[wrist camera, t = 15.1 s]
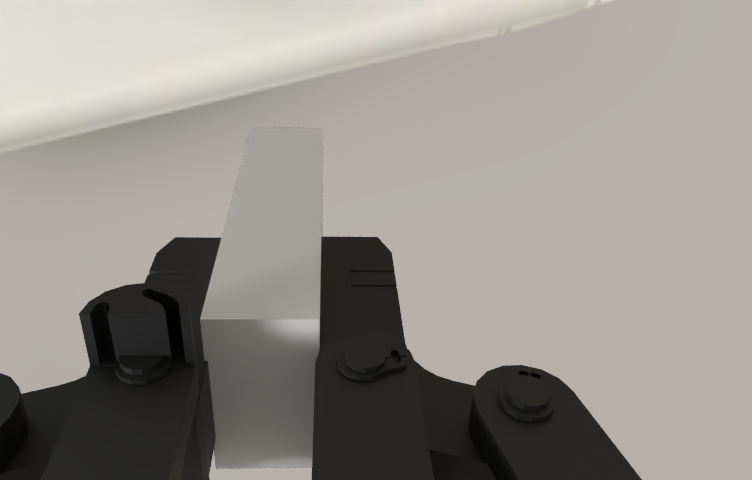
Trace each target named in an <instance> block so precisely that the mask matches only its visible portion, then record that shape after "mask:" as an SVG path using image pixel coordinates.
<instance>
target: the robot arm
mask: <svg viewBox="0 0 752 480" xmlns="http://www.w3.org/2000/svg"><path fill="white" fill-rule="evenodd" d="M322 197H323V128H300V127H253V126H252V127H250V132H249V135H248V139H247V143H246V147H245V150H244V154H243V158H242V162H241V165H240V170H239V174H238V177H237V181H236V184H235V188H234V192H233V196H232V200H231V204H230V208H229V211H228V215H227V219H226V223H225V226H224V230H223V234H222V238H181V237H179V238H178V237H177V238H174V239H173V240H172V241H171V242H169V243H168V244H167V245H166V246H165V247H163V248H162V249H161V250H160V251H159V252H158V253H157V254H156V256H155V259H154V261H153V263H152V266H151V268H150V271H149V275H148V276H147V278H146V281H145V283H142V284H133V285H125V286H122V287H119V288H116V289H112V290H109V291H106V292H104V293H103V294H101V295H100V296H98V297H96V298H94V299H93V300H91V301H89V303H88V304H87V305H86V306H85V307H84V309H83V310H82V311H81V312H80V313H79V316H80V320H81V324H82V329H83V334H84V338H85V343H86V348H87V352H88V357H89V361H90V368H89V370H88V373H87V375H86V376H85V377H82V378H80V379H78V380H76V381H72V382H69V383H66V384H62V385H59V386H55V387H50V388H46V389H41V390H37V391H32V392H28V393H24V394H21V393H20V390H19V387H18V386H17V385H16V383H15V382H14V381H13V380H12V378H11V377H9V376H7V375H4V374H1V373H0V480H209V471H210V466H211V460H212V455H213V450H214V455H215V465H216V469H236V468H237V469H242V468H297V467H298V468H300V467H301V468H302V467H303V468H304V467H312V480H642V479H641V478H640V477H639V476H638V474H637V473H636V472H635V470H634V469H633V468H632V467H631V465H630V464H629V463H628V461H627V460H626V459H625V458H624V456H623V455H622V454H621V452H620V451H619V450H618V449H617V447H616V446H615V445H614V443H613V442H612V441H611V439H610V438H609V437H608V436H607V434H606V433H605V432H604V430H603V429H602V428H601V427H600V425H599V424H598V423H597V421H596V420H595V419H594V418H593V417H592V415H591V414H590V412H589V411H588V410H587V409H586V407H585V406H584V405H583V404H582V402H581V401H580V400H579V398H578V397H577V396H576V394H575V393H574V392H573V391H572V390H571V389H570V388H569V387H568V386H567V385H566V384H565V383H564V382H563V381H561V380H560V379H559V378H557V377H555V376H553V375H551V374H549V373H547V372H545V371H543V370H541V369H537V368H532V367H527V366H523V365H514V366H501V367H498V368H495V369H493V370H490V371H487V372H486V373H485V374H484V375H483V376H482V377H481V378H480V379H479V380H478V381H477V383H476V386H473V385H469V384H464V383H460V382H456V381H452V380H449V379H445V378H442V377H439V376H436V375H435V374H433V373H431V372H429V371H427V370H425V369H424V368H423V367H421V366H420V365H419V364H418V363H417V362H415V361H414V359H413V357H412V355H411V353H410V351H409V350H408V349H407V347H406V344H405V339H404V333H403V326H402V320H401V313H400V306H399V299H398V292H397V289H396V279H395V274H394V266H393V259H392V253H391V252H390V251H389V249H388V248H387V247H386V246H385V245H384V244H383V243H382V242H381V240H380V239H379V238H378V237H322V202H323V199H322Z"/></svg>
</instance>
